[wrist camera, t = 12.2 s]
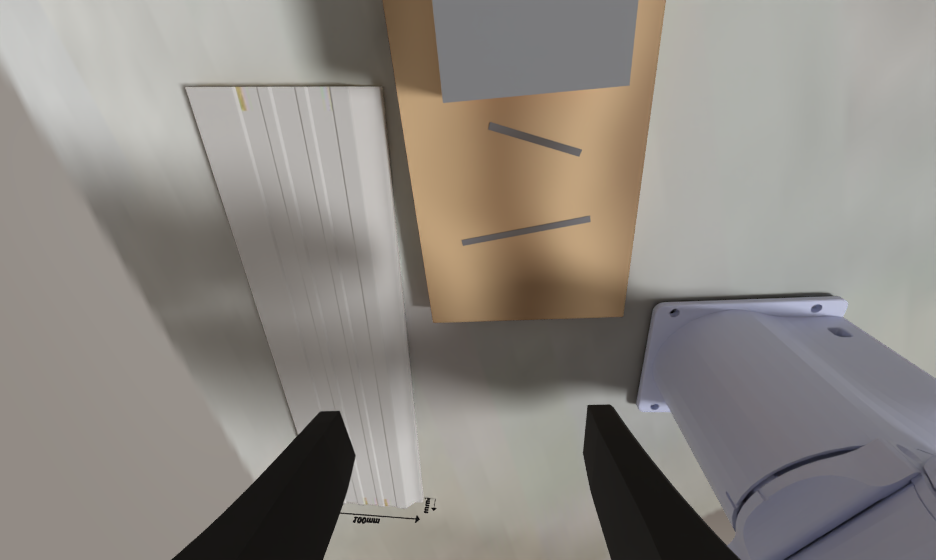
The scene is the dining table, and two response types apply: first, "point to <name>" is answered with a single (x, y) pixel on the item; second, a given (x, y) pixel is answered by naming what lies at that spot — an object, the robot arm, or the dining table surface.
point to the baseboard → (323, 263)
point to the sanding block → (532, 46)
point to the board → (523, 182)
